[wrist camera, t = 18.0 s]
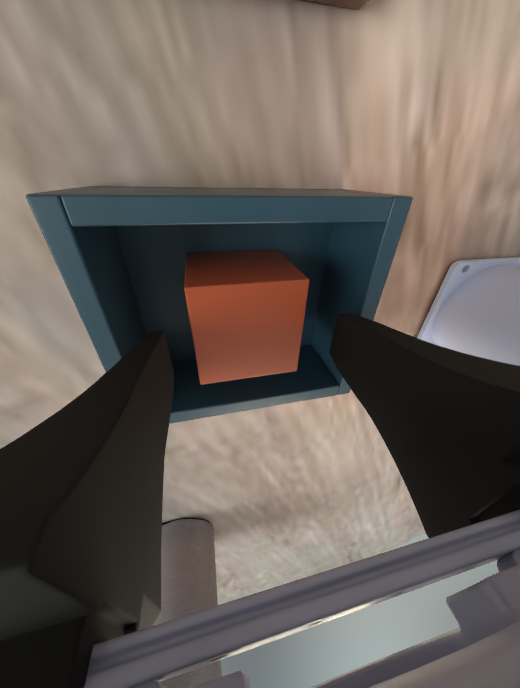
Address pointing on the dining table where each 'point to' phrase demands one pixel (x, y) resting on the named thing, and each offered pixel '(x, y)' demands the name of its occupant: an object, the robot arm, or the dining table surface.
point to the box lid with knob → (343, 3)
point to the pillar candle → (188, 584)
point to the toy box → (210, 236)
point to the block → (244, 313)
